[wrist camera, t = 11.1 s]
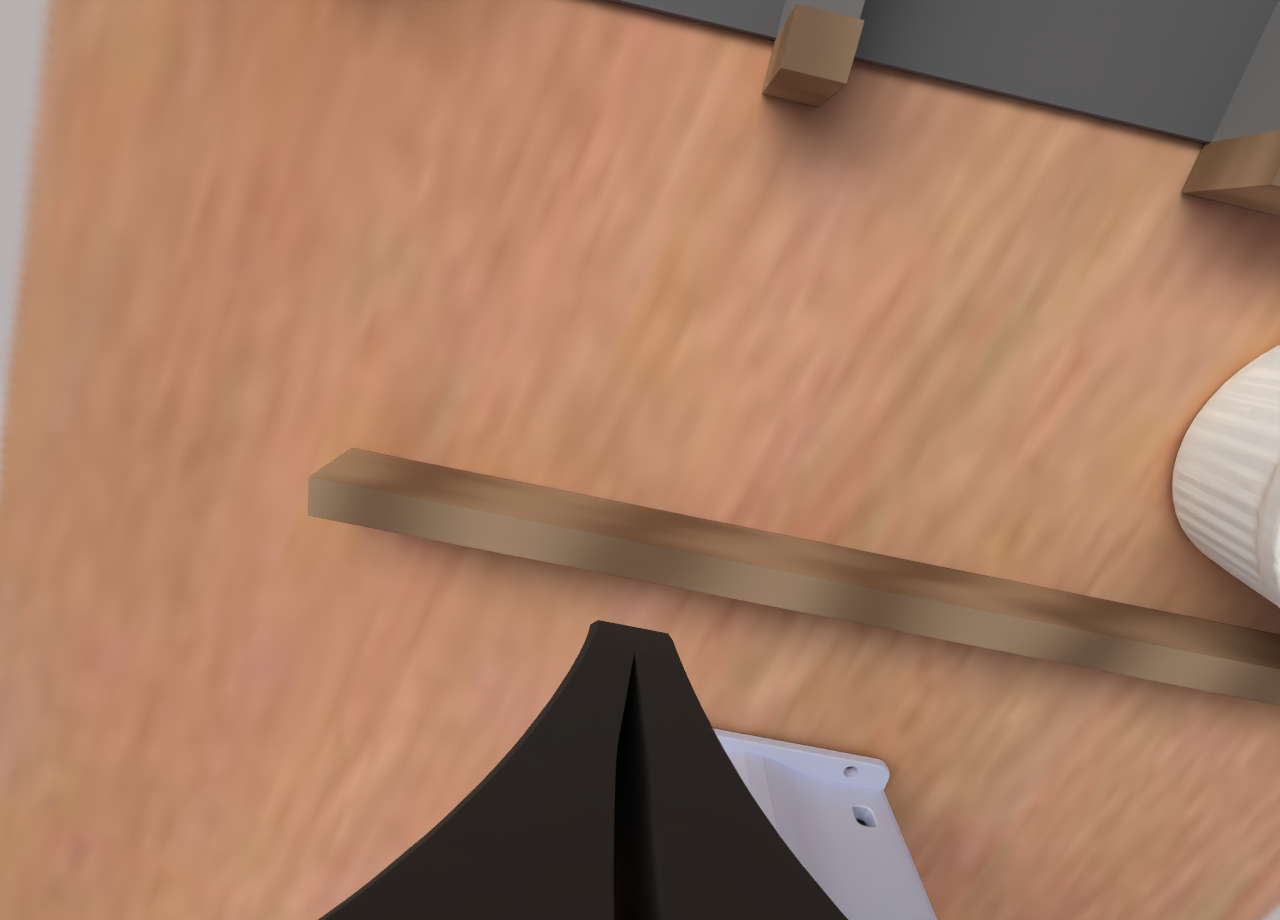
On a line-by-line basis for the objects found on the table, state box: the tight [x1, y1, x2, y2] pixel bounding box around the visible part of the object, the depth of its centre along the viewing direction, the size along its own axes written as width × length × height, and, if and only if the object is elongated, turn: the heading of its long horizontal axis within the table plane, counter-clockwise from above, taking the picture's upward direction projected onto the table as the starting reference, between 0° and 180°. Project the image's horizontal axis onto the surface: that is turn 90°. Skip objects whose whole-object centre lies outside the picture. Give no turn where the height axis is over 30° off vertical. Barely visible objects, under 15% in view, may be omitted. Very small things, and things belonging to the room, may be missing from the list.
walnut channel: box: [308, 4, 1280, 706], centre depth 16 cm, size 34×14×4 cm, turn 78°
